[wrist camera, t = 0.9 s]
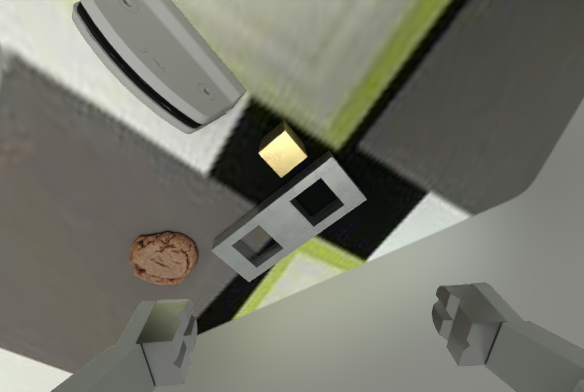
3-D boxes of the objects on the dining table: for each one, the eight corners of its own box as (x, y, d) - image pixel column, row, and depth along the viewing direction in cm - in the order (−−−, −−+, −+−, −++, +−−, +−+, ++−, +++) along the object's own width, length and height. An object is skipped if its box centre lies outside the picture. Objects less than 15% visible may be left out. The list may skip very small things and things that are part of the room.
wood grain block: (284, 119, 38) (285, 130, 33) (303, 142, 40) (307, 156, 34) (261, 139, 39) (258, 153, 34) (280, 161, 41) (281, 177, 35)
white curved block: (248, 92, 37) (214, 128, 29) (225, 113, 39) (187, 151, 32) (138, -39, 31) (59, -38, 23) (118, -5, 33) (41, 6, 26)
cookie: (212, 254, 48) (208, 266, 45) (169, 288, 50) (163, 301, 48) (162, 213, 44) (155, 224, 41) (119, 253, 47) (109, 265, 44)
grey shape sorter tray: (328, 149, 40) (332, 156, 38) (361, 190, 43) (366, 199, 41) (215, 238, 46) (211, 250, 43) (250, 269, 49) (249, 282, 46)
